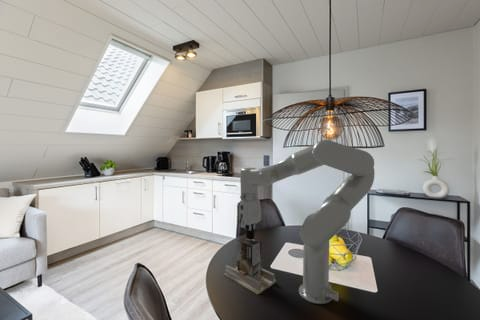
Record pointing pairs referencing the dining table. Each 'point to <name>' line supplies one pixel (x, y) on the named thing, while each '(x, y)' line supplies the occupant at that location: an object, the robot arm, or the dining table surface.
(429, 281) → the dining table surface
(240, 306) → the dining table surface
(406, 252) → the dining table surface
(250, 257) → the coffee box
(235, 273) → the rail
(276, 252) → the dining table surface
